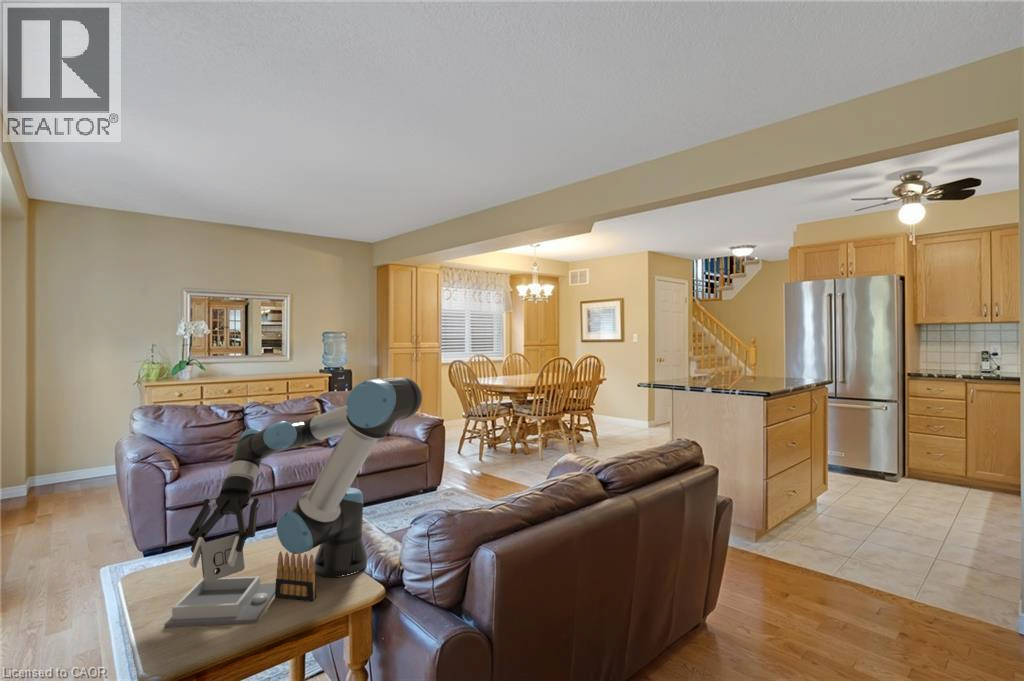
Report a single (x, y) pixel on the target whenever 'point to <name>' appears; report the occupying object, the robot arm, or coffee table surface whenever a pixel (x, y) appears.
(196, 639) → the coffee table surface
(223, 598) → the housing
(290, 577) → the ammunition clip
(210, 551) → the electrical switch
